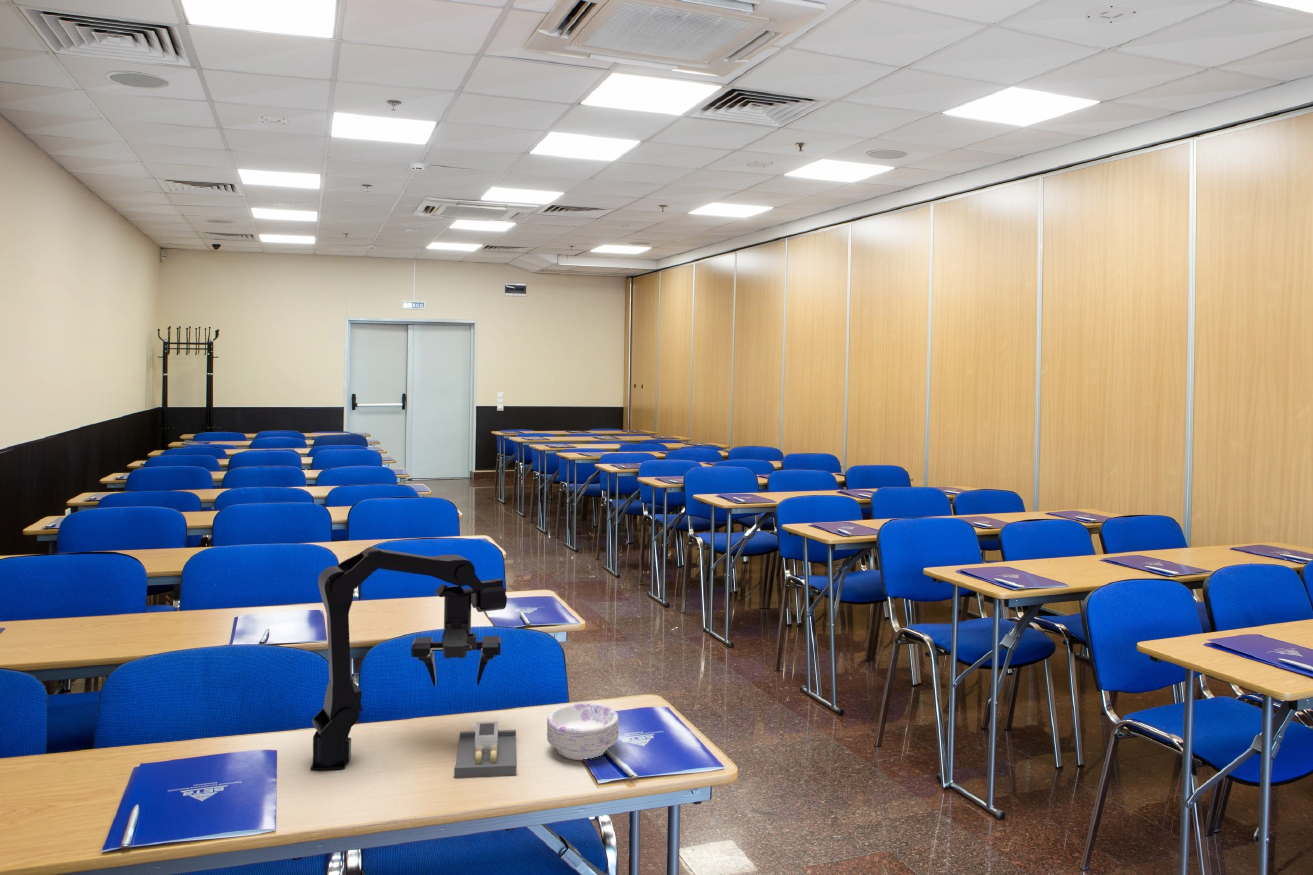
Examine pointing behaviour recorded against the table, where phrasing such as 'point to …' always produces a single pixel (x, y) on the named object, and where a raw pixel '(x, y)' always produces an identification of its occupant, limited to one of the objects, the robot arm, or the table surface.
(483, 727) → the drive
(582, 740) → the paper bowls
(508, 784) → the table surface
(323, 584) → the robot arm
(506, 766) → the tray
